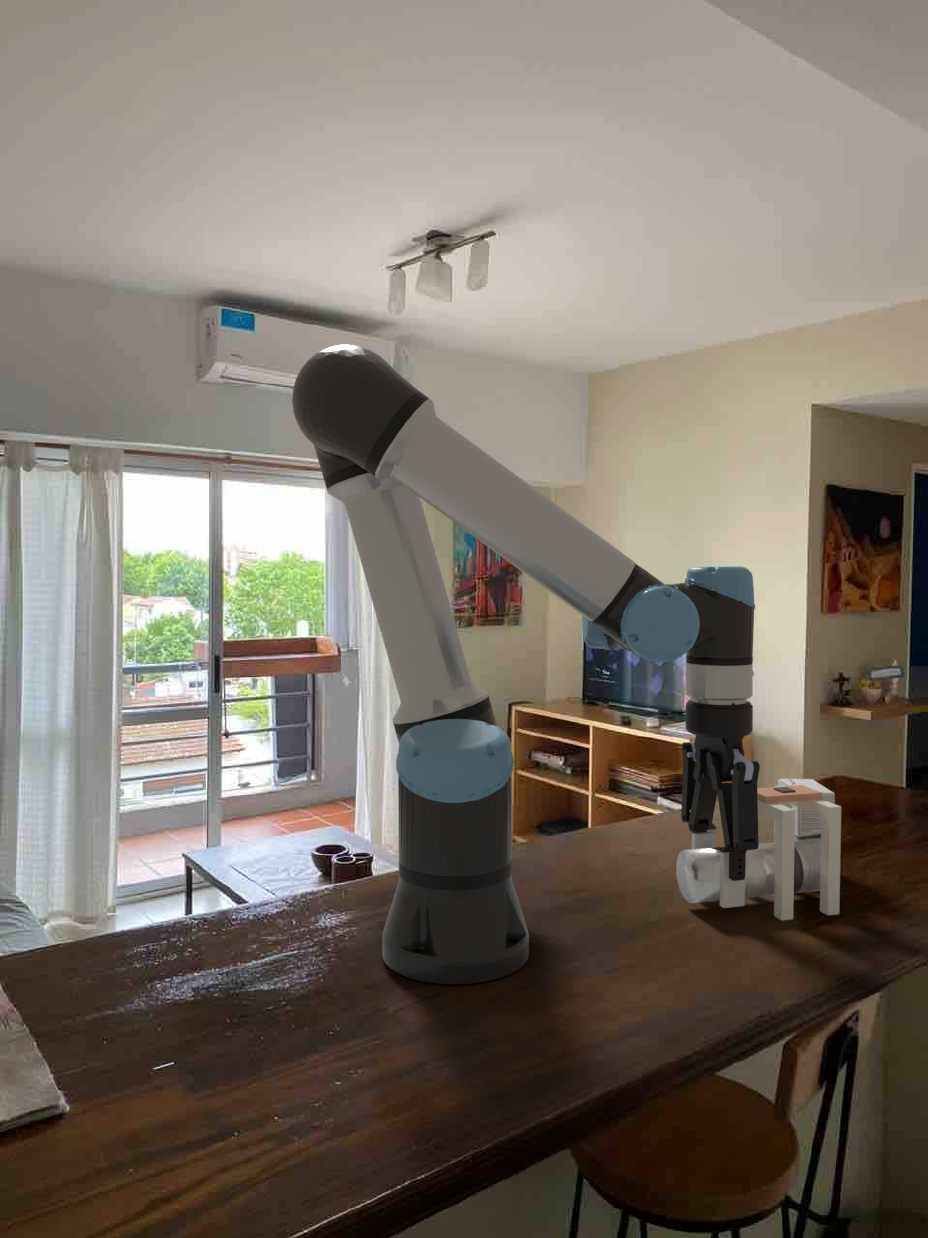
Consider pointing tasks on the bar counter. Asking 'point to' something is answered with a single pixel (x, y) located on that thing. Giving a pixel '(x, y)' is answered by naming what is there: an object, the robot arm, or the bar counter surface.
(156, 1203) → the bar counter surface
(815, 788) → the ink box
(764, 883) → the silver metal cylinder
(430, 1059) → the bar counter surface
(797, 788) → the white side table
